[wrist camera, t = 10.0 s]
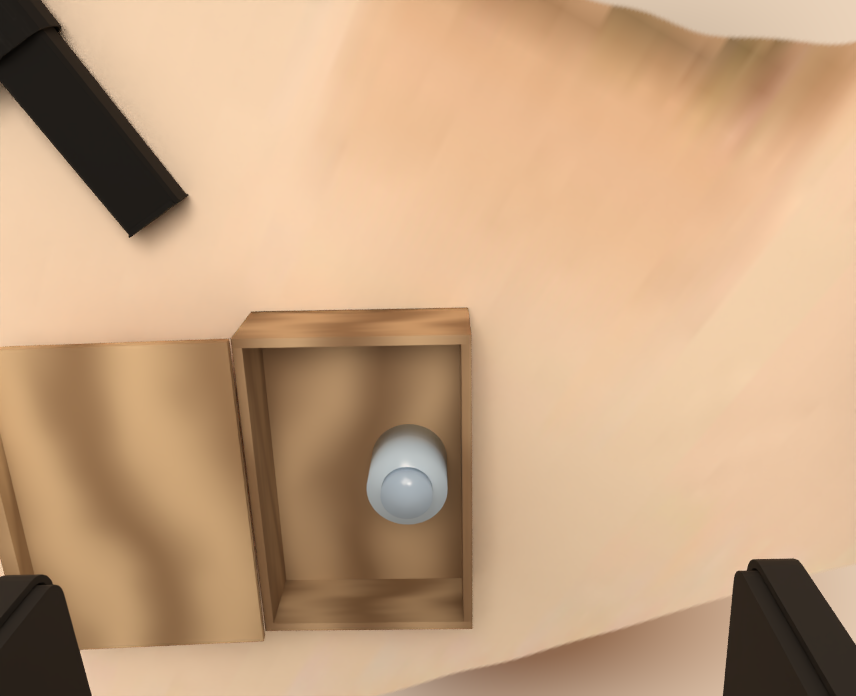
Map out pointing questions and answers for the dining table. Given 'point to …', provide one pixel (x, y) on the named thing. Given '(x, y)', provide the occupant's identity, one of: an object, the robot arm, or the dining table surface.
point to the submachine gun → (81, 117)
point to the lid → (130, 490)
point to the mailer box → (354, 465)
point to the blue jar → (408, 474)
